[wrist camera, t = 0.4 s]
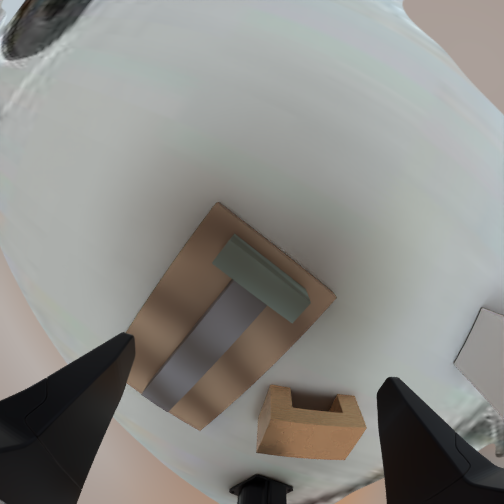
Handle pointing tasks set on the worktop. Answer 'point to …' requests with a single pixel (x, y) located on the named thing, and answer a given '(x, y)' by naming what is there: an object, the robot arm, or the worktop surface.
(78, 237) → the worktop surface
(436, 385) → the worktop surface
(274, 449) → the block
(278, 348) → the rail board
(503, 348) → the milk carton
